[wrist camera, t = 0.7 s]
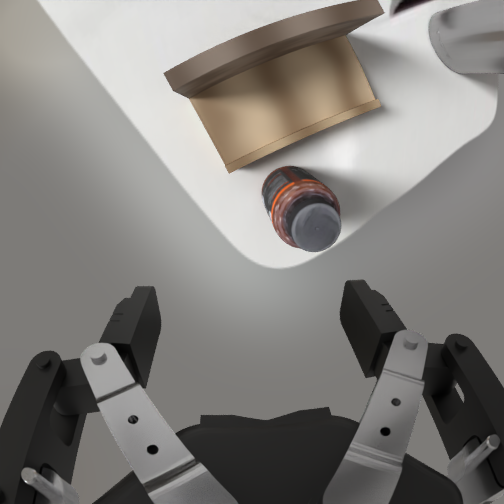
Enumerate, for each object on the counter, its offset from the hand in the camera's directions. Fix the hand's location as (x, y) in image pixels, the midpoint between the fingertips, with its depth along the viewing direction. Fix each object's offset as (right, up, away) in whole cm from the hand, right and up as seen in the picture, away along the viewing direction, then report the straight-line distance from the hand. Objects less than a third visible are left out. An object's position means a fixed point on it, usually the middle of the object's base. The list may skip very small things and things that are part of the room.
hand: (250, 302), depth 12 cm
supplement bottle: (+4, +9, +20) cm, 22 cm away
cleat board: (+3, +19, +15) cm, 24 cm away
